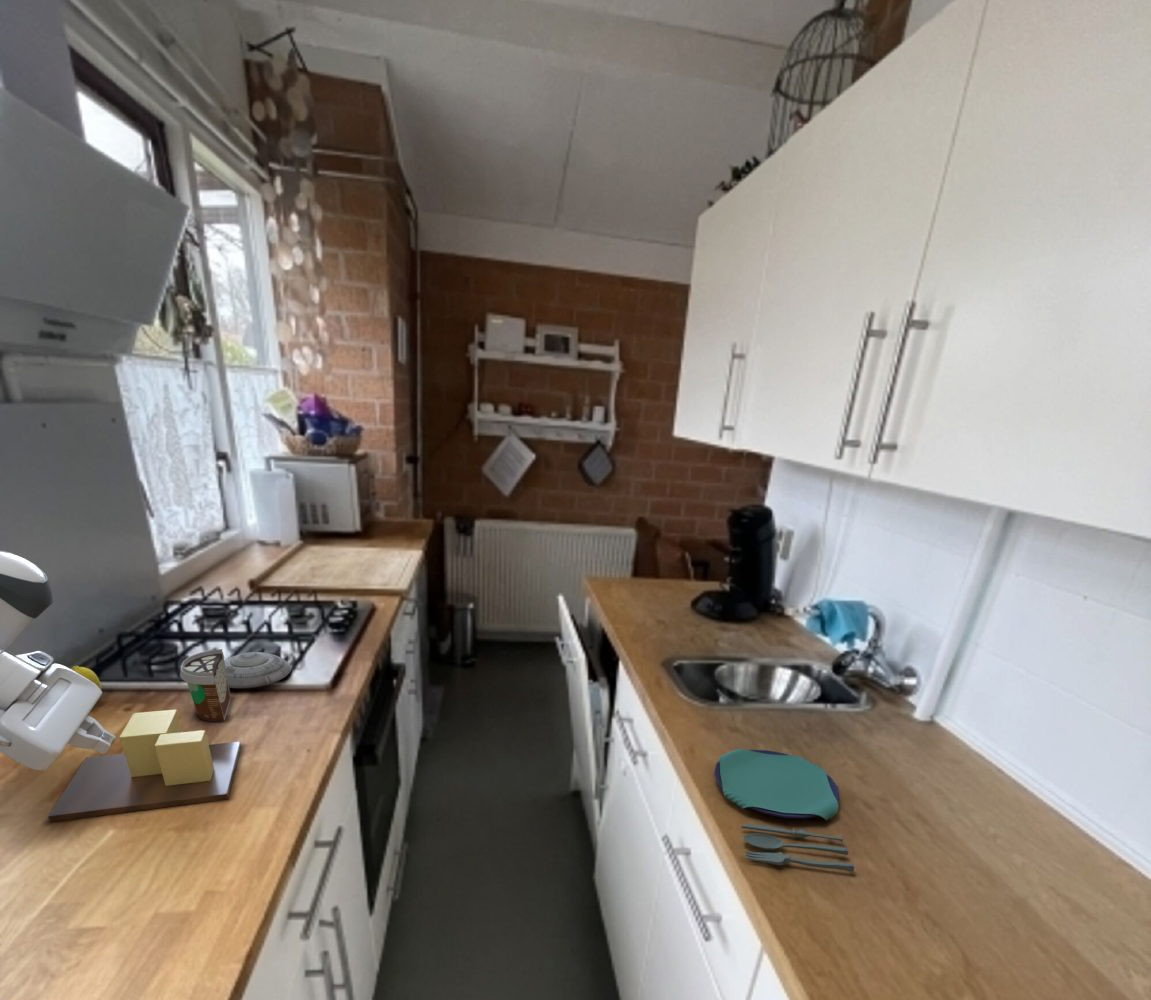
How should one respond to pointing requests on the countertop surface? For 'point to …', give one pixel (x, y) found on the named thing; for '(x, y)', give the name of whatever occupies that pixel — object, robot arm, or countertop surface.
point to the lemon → (87, 674)
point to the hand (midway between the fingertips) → (110, 745)
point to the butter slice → (184, 757)
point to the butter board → (139, 786)
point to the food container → (208, 684)
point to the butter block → (147, 739)
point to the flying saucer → (255, 669)
